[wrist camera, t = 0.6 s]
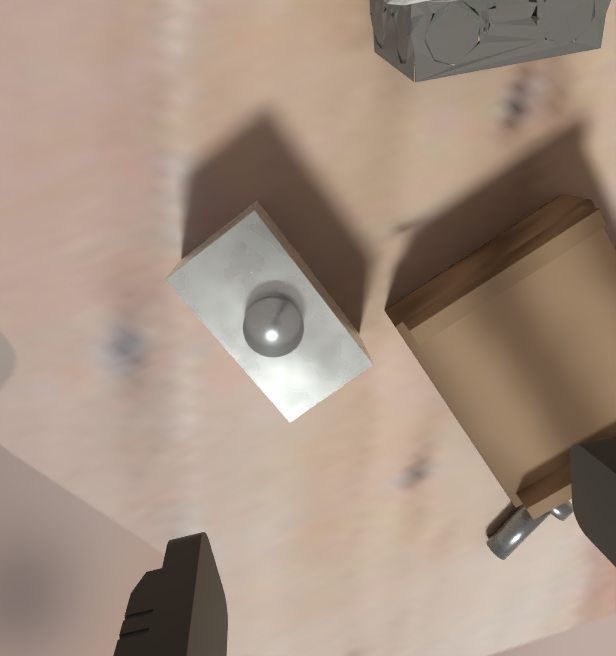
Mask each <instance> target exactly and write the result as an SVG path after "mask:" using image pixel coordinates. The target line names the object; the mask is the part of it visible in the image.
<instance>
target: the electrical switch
mask: <svg viewBox="0 0 616 656" xmlns="http://www.w3.org/2000/svg"><path fill="white" fill-rule="evenodd" d="M610 1H611V0H370V14H371V20H372V25H373V30H374V48H375V53H377V54H378V55H379V56H381V57H382V58H383V59H385V60H386V61H387V62H389V63H390V64H391V65H393V66H394V67H395V68H396V69H398V70H399V71H400V72H402V73H403V74H404V75H406V76H407V77H408V78H410V79H411V80H412V81H413V82H414V63H415V82H419V81H425V80H430V79H436V78H441V77H447V76H452V75H458V74H463V73H468V72H474V71H479V70H485V69H490V68H496V67H501V66H506V65H512V64H517V63H523V62H528V61H534V60H539V59H544V58H550V57H555V56H561V55H566V54H572V53H577V52H582V51H588V50H593V49H599V48H601V42H602V36H603V29H604V23H605V16H606V12H607V9H608V7H609V4H610ZM487 21H488V22H487ZM487 30H488V34H487ZM478 35H479V37H480V41H479V42H478V43H477V40H478ZM546 38H547V39H549V40H547V39H546ZM574 40H575V42H573V41H574ZM447 63H448V64H447ZM450 64H456V65H455V66H453V65H450Z"/></svg>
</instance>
